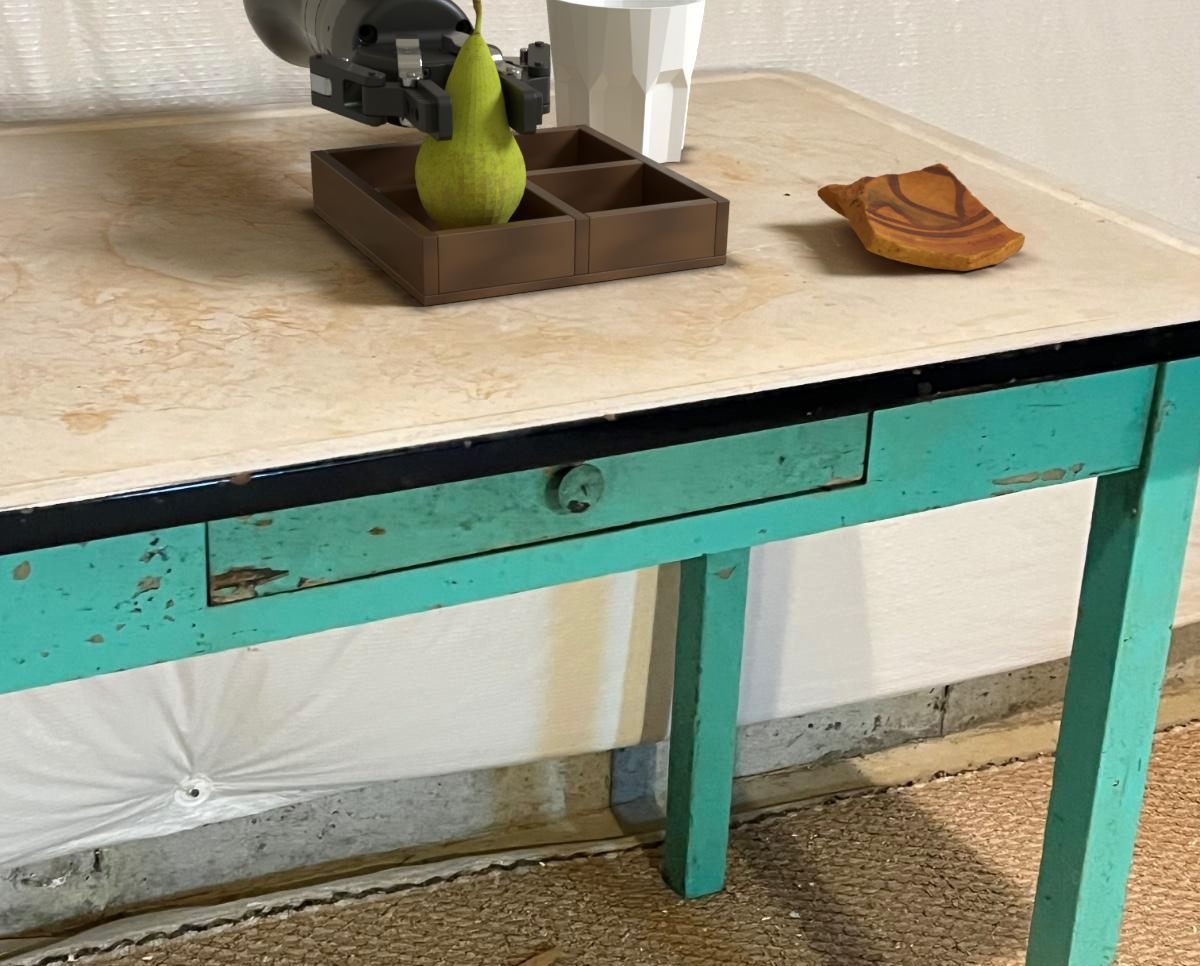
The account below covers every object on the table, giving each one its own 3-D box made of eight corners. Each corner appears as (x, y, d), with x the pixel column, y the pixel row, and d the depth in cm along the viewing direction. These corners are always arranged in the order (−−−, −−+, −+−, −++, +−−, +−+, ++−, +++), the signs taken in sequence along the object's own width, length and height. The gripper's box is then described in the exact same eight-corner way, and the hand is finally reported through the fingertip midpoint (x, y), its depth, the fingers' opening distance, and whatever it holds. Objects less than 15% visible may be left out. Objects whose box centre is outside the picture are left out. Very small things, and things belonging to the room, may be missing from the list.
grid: (424, 306, 84) (422, 237, 83) (313, 211, 98) (309, 150, 96) (726, 264, 91) (730, 200, 90) (584, 181, 105) (585, 124, 103)
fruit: (440, 262, 86) (434, 15, 80) (401, 228, 90) (393, -8, 84) (544, 248, 88) (546, 8, 82) (501, 216, 92) (500, -14, 86)
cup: (610, 181, 105) (615, 14, 100) (514, 146, 112) (514, -12, 107) (729, 157, 110) (739, -2, 106) (630, 125, 117) (635, -26, 112)
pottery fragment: (944, 159, 99) (1047, 175, 91) (943, 239, 101) (1045, 261, 92) (791, 178, 96) (883, 196, 87) (793, 260, 98) (883, 285, 89)
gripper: (266, -21, 93) (343, 46, 79) (511, -30, 97) (625, 31, 84) (275, 118, 97) (350, 204, 83) (511, 102, 101) (620, 181, 87)
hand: (488, 117), depth 83 cm, fingers closed on fruit, 3 cm apart
